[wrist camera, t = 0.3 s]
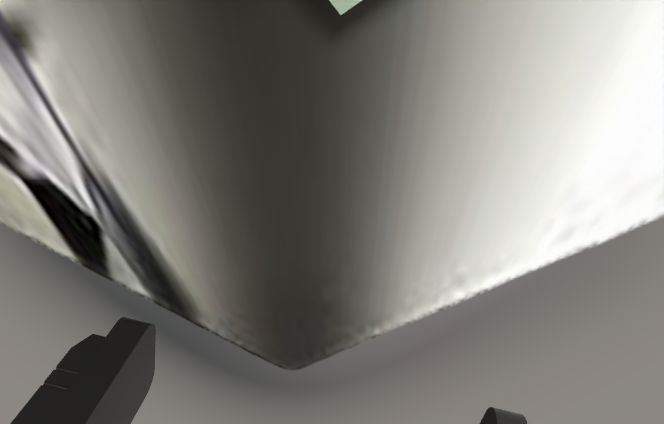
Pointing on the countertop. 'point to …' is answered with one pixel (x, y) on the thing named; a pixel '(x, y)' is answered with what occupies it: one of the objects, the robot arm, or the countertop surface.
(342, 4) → the tray
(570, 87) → the countertop surface
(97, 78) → the countertop surface
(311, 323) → the countertop surface
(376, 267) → the countertop surface
